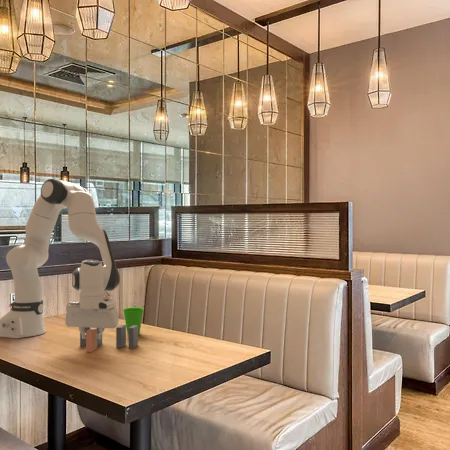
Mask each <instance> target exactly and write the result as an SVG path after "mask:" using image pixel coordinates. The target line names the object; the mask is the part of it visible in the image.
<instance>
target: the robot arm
mask: <svg viewBox="0 0 450 450" xmlns="http://www.w3.org/2000/svg"><path fill="white" fill-rule="evenodd" d="M63 209H67V215H68V216H67V219H68V226H69V230H70V232H71V233H72V235H74V236H75V237H77V238H78V239H80V240H84V241H86V242H90V243H92V244H94V245H95V246H97V248H98V249H99V252H100V255H101V260H102V261H100V260H98V259H85V260H83V261H82V262H81V263H80V267H77V268H75V270H74V271H73V272H72V273H71V287H72V288H73V289H75V290H76V291H79V301H75V302H74V301H70V302H68V303H67V304H66V307H65V311H66V313H65V321H64V322H65V323H64V324H65V325H66V326H67V328H68V327H69V328H70V327H71V328H73V327H74V328H78V331H79V334H80V333H81V334H82V339H86V333H85V331H84V329H85V327H89V328H99V331H100V332H99V334H97V335H96V339H98V340H100V339H101V338H102V339H103V333H104V332H105V329H115V328H116V327H118V326H119V314H118V309H117V308H116V306H117V302H116V301H115V300H113V299H111V298H108V297H105V296H104V295H105V294H104V291H106V292H107V291H109V292H110V291H113V290H115V289H116V288H117V287H118V286H119V284H120V279H121V277H120V272H119V269H118V266H117V263H116V261H115V258H114V254H113V250H112V248H111V247H112V246H111V244H110V240H109V237H108V234H107V233H108V232H107V231H106V230H105V229H104V228H102V227H101V226H100V224H99V222H98V219H97V213H96V207H95V203H94V199H93V196H92V194H91V193H90V192H89V190H88V189H86V188H85V187H83V186H82V185H81V186H80V185H77V184H75V183H74V182H70V181H65V180H60V179H58V178H48V179H46V180H45V181H44V182H43V184H42V185H41V187H40V193H39V196H38V198H36V200H35V203H34V204H33V206H32V209H31V211H30V214H29V217H28V218H27V222H26V225H25V228H24V230H25V237H24V238H25V239H24V243H23V244H20V245H16V246H15V247H13V248H11V249H10V250H9V251H8V252H7V253H6V256H5V258H6V259H5V261H6V264H7V266H8V267H9V268H10V270H11V274H12V280H13V285H14V301H13V302H11V303H9V304H8V307H10V310H9V311H8V312H7V313H5V314H4V315H3V316H1V317H0V338H8V339H9V338H10V339H20V338H27V337H35V336H39V335H43V334H46V333H47V330H46V327H45V321H44V315H43V313H44V300H43V282H42V280H41V279H40V275H39V272H38V268H40V267H42V266H43V265H44V264H45V263H47V261H48V260H49V247H50V243H51V242H50V241H51V237H52V234H53V232H54V229H55V226H56V223H57V221H58V218H59V214H60V213H61V210H63Z"/></svg>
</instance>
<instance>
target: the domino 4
mask: <svg viewBox="0 0 450 450" xmlns="http://www.w3.org/2000/svg"><path fill="white" fill-rule="evenodd" d="M115 328H116V329H115V331H116V333H115V337H116V338H115V341H116V343H115V345H116V349H122V348H124V347H125V346H126V345H127V328H126V324H120V325H117V327H115Z"/></svg>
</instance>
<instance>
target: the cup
mask: <svg viewBox="0 0 450 450" xmlns="http://www.w3.org/2000/svg"><path fill="white" fill-rule="evenodd" d="M144 310H145V308H143V307H139V306H138V307H137V306H136V307H135V306H134V307H132V306H131V307H126V308H123V309H122V311H123V315H124V321H125V325H126V335H127V336H129V327H131V326H132V325H138V336H139V335H140V333H141V327H142V326H141V325H142V320H143V313H144Z"/></svg>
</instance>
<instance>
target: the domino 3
mask: <svg viewBox="0 0 450 450" xmlns="http://www.w3.org/2000/svg"><path fill="white" fill-rule="evenodd" d="M99 332H100V331H99V328H97V334H99ZM101 345H103V337H102V338H101V339H100V340H98V339H97V348H99V347H100V346H101Z"/></svg>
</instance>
